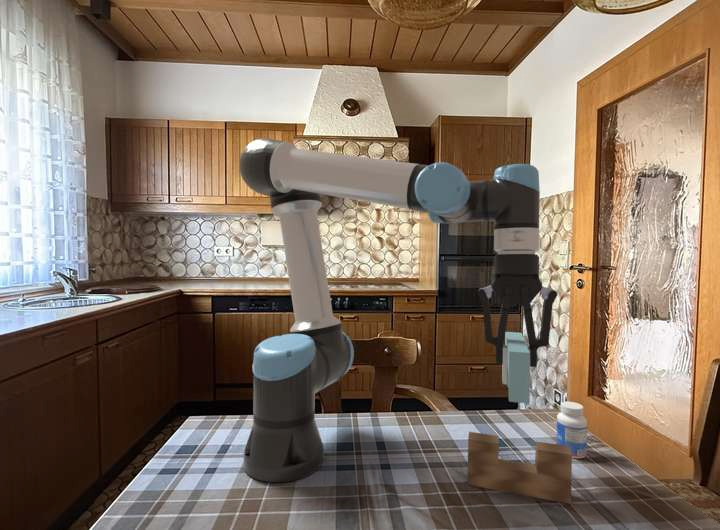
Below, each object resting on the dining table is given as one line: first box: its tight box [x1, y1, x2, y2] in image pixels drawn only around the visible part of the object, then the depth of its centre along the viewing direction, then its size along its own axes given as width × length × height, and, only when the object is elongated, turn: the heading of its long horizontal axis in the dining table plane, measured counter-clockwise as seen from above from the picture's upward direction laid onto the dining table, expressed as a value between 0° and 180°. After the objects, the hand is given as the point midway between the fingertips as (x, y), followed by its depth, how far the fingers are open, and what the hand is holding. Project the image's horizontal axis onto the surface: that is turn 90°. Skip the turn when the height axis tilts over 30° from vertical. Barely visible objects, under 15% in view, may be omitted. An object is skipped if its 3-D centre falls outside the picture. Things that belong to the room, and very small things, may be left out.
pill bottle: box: [556, 401, 588, 459], centre depth 78 cm, size 6×5×10 cm
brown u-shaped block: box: [467, 431, 573, 505], centre depth 66 cm, size 16×3×8 cm, turn 71°
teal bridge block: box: [504, 331, 531, 404], centre depth 69 cm, size 3×18×8 cm, turn 161°
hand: (515, 382), depth 69 cm, fingers closed on teal bridge block, 3 cm apart
